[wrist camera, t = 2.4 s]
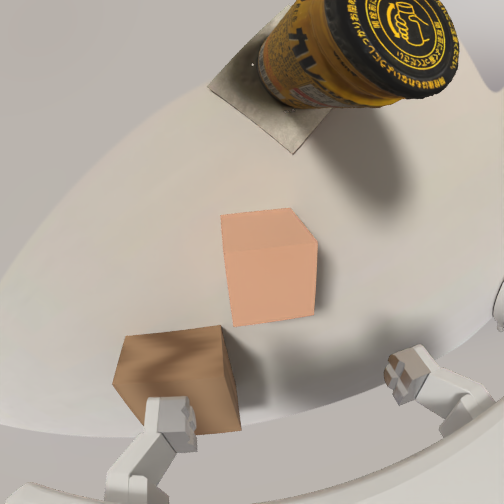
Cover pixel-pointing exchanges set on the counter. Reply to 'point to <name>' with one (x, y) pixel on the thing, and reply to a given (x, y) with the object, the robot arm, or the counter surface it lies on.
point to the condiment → (338, 62)
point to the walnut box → (181, 375)
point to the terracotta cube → (269, 266)
